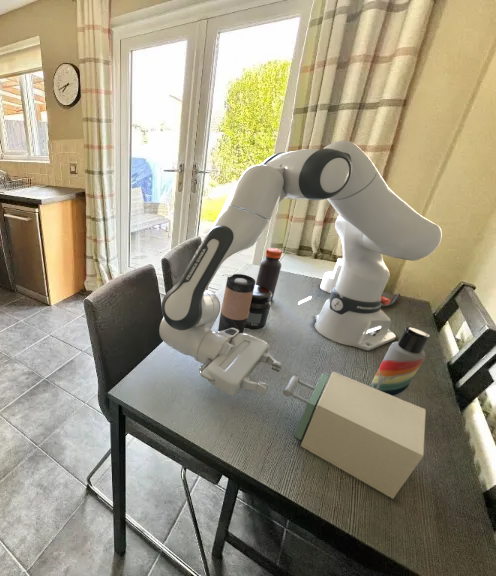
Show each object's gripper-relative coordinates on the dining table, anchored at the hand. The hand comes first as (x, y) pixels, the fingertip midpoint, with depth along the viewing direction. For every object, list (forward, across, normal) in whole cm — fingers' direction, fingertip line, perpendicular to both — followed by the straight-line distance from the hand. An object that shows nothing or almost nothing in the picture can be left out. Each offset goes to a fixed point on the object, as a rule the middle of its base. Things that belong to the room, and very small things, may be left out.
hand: (274, 378), depth 68 cm
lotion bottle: (+19, +20, +8) cm, 29 cm away
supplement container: (-17, +32, +8) cm, 37 cm away
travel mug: (-18, +20, +8) cm, 28 cm away
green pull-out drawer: (+12, 0, +7) cm, 14 cm away
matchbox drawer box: (+16, 0, +8) cm, 18 cm away
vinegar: (-20, +52, +8) cm, 56 cm away
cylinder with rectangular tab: (-2, +81, +8) cm, 81 cm away
